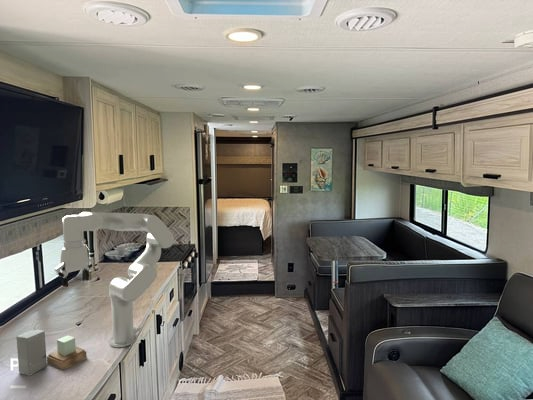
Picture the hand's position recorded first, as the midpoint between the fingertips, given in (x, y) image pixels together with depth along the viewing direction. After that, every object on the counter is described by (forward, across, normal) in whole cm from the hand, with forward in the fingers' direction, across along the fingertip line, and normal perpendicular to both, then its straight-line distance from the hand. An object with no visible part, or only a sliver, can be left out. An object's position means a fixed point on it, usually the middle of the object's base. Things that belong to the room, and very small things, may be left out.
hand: (76, 282), depth 159 cm
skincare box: (+34, +15, -9) cm, 39 cm away
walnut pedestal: (+34, +4, -3) cm, 35 cm away
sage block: (+30, +4, -3) cm, 31 cm away
